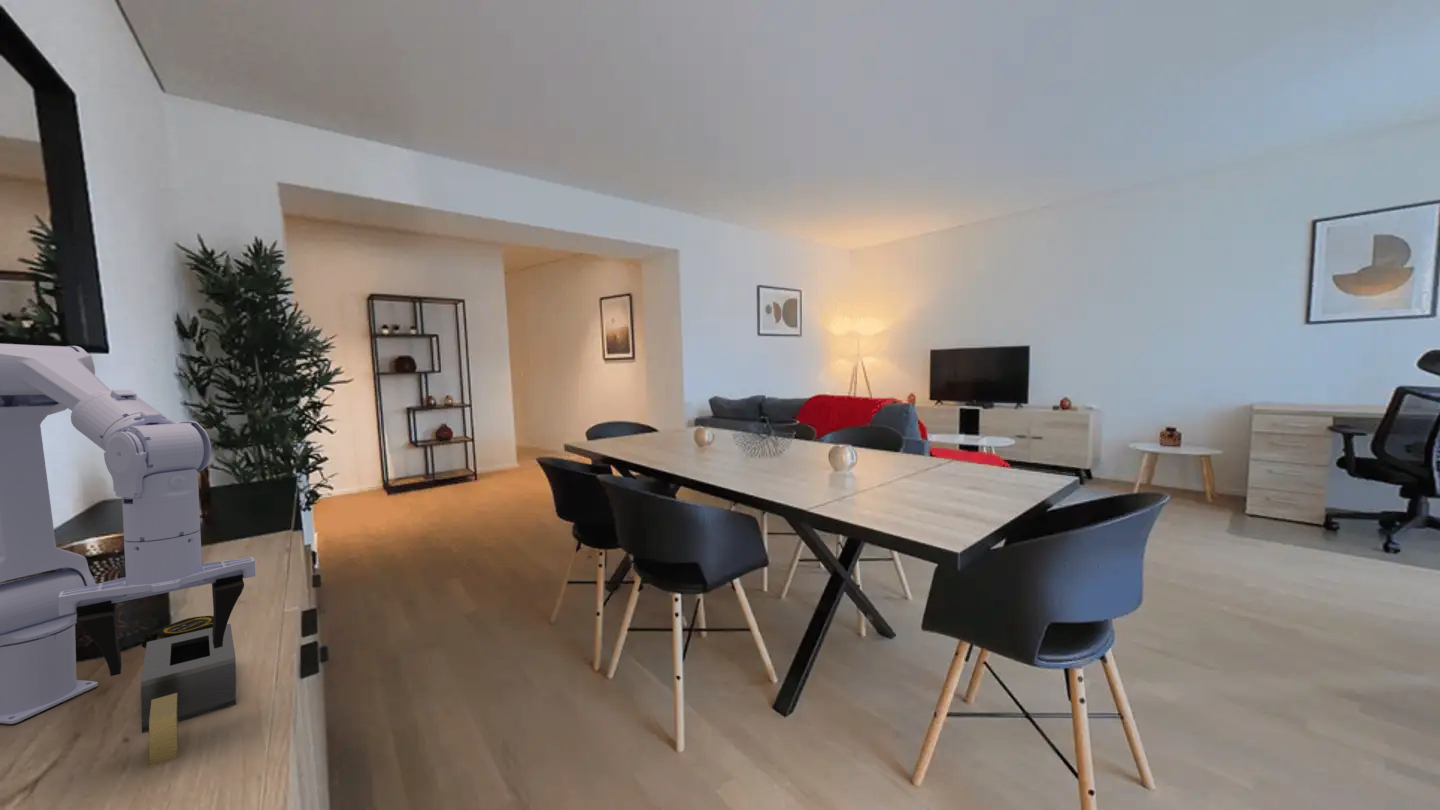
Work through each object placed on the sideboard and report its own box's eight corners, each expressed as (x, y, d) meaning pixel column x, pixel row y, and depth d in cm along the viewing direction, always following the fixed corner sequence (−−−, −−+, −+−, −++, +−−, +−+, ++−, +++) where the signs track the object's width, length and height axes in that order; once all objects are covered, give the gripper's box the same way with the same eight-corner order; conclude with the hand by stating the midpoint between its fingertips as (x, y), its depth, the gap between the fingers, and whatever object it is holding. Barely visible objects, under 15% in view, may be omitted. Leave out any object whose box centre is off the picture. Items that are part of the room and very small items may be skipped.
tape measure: (195, 634, 83) (195, 611, 83) (231, 639, 82) (231, 616, 82) (141, 657, 76) (140, 631, 76) (179, 662, 75) (179, 637, 75)
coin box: (147, 686, 69) (146, 642, 69) (230, 664, 75) (230, 623, 75) (141, 732, 61) (140, 681, 61) (236, 704, 67) (235, 657, 66)
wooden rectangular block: (152, 743, 59) (151, 699, 59) (177, 735, 61) (177, 692, 61) (149, 767, 56) (149, 721, 56) (177, 758, 57) (176, 713, 57)
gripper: (51, 559, 49) (59, 701, 50) (256, 527, 60) (261, 645, 60) (60, 543, 54) (67, 673, 55) (249, 517, 65) (253, 626, 65)
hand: (169, 657), depth 58 cm, fingers open, 7 cm apart
